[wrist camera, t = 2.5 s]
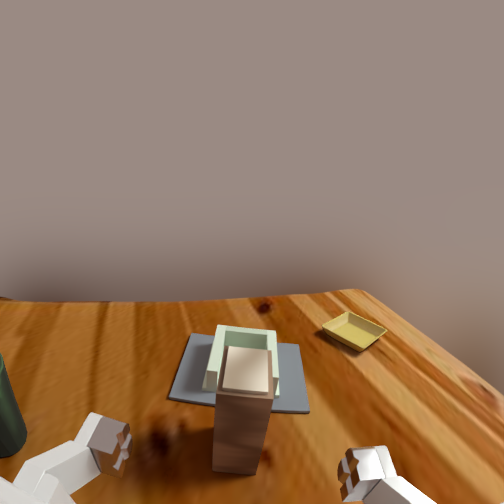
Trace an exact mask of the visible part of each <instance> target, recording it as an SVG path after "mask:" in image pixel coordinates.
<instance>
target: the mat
mask: <svg viewBox="0 0 504 504" xmlns="http://www.w3.org/2000/svg"><path fill="white" fill-rule="evenodd" d="M214 338H215V336H210V335H202V334H195V333H191V336H190V339H189V342H188V345H187V347H186V350H185V353H184V356H183V359H182V361H181V364H180V367H179V370H178V373H177V375H176V378H175V381H174V384H173V387H172V390H171V393H170V396H169V399H171V400H177V401H183V402H189V403H195V404H202V405H209V406H215V400H216V392H211V391H204V390H202V386H203V381H204V377H205V373H206V369H207V365H208V360H209V356H210V352H211V348H212V344H213V341H214ZM277 355H278V369H279V398H274V400H273V404H272V409H271V412H284V413H309V412H310V409H309V403H308V397H307V391H306V385H305V379H304V373H303V367H302V362H301V356H300V350H299V345H298V344H286V343H277Z"/></svg>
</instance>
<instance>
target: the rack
mask: <svg viewBox="0 0 504 504" xmlns="http://www.w3.org/2000/svg"><path fill="white" fill-rule="evenodd" d="M224 346H233V347H242V348H252V349H262V350H271V351H272V371H273V395H274V398H279V369H278V355H277V342H276V331H271V330H260V329H250V328H241V327H232V326H224V325H218V326H217V330H216V334H215V338H214V341H213V344H212V348H211V352H210V356H209V360H208V365H207V369H206V373H205V377H204V381H203V386H202V390H204V391H211V392H216V390H217V384H218V379H219V373H220V367H221V362H222V356H223V351H224Z"/></svg>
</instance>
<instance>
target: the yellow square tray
mask: <svg viewBox="0 0 504 504" xmlns="http://www.w3.org/2000/svg"><path fill="white" fill-rule="evenodd" d="M322 328H323V330H324V331H325V332H326V334H327V335H329V336H331V337H332V338H334V339H336V340H338V341H340V342H341V343H343V344H345V345H347V346H349V347H351V348H352V349H354V350H356V351H358V352H361V351H363V350H364V349H365V348H367V347H368V346H369V345H371V344H372V343H373V342H374V341H376V340H377V339H378V338H379V337H381V336H382V335H383V334H384V333H385V332H387V330H386V329H385V328H383V327H381V326H379V325H377V324H375V323H373V322H370V321H368V320H366V319H364V318H362V317H360V316H358V315H356V314H354V313H352V312H346V313H344V314H342V315H340V316H338V317H337V318H335V319H333V320H331V321H329V322H327V323H325V324H323V325H322Z"/></svg>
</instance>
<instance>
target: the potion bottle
mask: <svg viewBox="0 0 504 504" xmlns="http://www.w3.org/2000/svg"><path fill="white" fill-rule="evenodd" d="M26 437H27V430H26V426H25V423H24V420H23V418H22V415H21V413H20V410H19V407H18V405H17V402H16V399H15V396H14V393H13V390H12V387H11V384H10V381H9V378H8V375H7V371H6V368H5V364H4V361H3V357H2V355H1V353H0V457H6V456H11V455H13V454H15V453H17V452H18V451H20V449H21V448H22V446H23V445H24V444H25V442H26Z"/></svg>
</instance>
